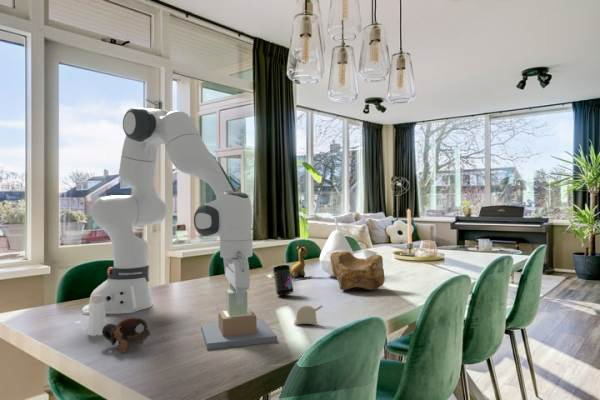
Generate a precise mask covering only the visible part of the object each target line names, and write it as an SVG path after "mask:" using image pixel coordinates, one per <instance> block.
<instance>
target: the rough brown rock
mask: <svg viewBox="0 0 600 400" xmlns="http://www.w3.org/2000/svg"><path fill="white" fill-rule="evenodd" d="M330 259H331V266H332V270H333V274H334V275H335V276H336V280H337V282H338V285H339V289H340V290H341V291H342V290H343V291H344V290H350V289H352V288H363V289H366V290H369V291H372V290H373V291H374V290H376V289H377V290H378V289H379V288H381V287H382V286H384V283H385V269H384V263H383V262H384V261H383V260H384V258H383V256H382V255H381V254H373V255H371V256H369V257H366V259H365V258H358V257H355V255H354V256H353V255H352V254H351V253H350V252H347V251H344V252H334V253H332V254H331V257H330Z"/></svg>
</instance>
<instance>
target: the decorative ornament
mask: <svg viewBox="0 0 600 400" xmlns="http://www.w3.org/2000/svg"><path fill="white" fill-rule="evenodd" d="M322 308H323V305H319V306H317V307H315V308H314V307H313V306H311V305H308V304H304V305H301V306H300V307H298V309H297V311H296V315H295V320H294V321H293V322H294V323H293V325H294V326H296V325H301V324H303V325H314V326H318V321H317V313H316V312H317V311H318V310H321V309H322Z"/></svg>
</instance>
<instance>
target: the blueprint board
mask: <svg viewBox="0 0 600 400" xmlns="http://www.w3.org/2000/svg"><path fill="white" fill-rule="evenodd" d="M247 313H248V314H243V315H232V316H229V315H228V313H227V311H226V310H223V309H222V310H218V321H217V322H210V323H208V322H207V323H201V324H200V330H201V333H202V337H203V341H204V343H205V347H206V350H214V349H215V350H216V349H225V348H233V347H242V346H250V345H252V346H253V345H261V344H270V343H277V342H278V335H277V334H276V333H275V332H274V331H273V330H272V328H271V327H270V326H269V325H268V324H267V322H266V321H265V320H264V318H262V317H261V318H257V315H256V313H255V312H254V311H253V310H252V308H250V307H247Z"/></svg>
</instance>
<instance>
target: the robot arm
mask: <svg viewBox="0 0 600 400" xmlns="http://www.w3.org/2000/svg"><path fill="white" fill-rule="evenodd" d="M122 129H123V132H124V134H125V138H124V141H123V145H122V150H121V157H120V162H119V169H118V177H119V179H120V180H121V182H122V183H123V184H125V186H126V185H127V186H128V187H130V188H131V193H130V195H128V194H127V195H126V194H125V195H113V194H112V195H106V196H101V197H98V198H97V199H95V200H94V202H93V203H92V206H91V210H90V211H91V212H90V213H91V218H92V220H93V222H94V223H95V225H97V226H98V227H100V228H101V229H102V230H104V232H105V233H106V234H107V235H108V237H109V239H110V241H111V244H112V252H113V266H109V267H108V268H107V270H106V271H107V279H106V280H105V281H103V282H102V283H101V284H99V285H98V286H97V287H96V288H95V289H93V291H92V292H91V294H90V297H89V302H88V304H86V305H84V306H83V307H82V309H81V313H82V314H83V315H86V316H89V311H90V305H91V304H92V297H91V296H92V295H95V294H102V295H103V296H102V303H104V307H105V315H113V314H114V315H115V314H120V315H121V314H133V313H135V312H138V311H142V310H146V309H148V308H149V309H150V308H151V307H152V306H153V305H154V303H153V300H152V295H151V291H150V283H149V282H150V278H151V277H150V273H151V272H150V271H151V270H150V265H149V263H148V261H149V259H148V258H149V256H148V255H149V253H148V251H149V250H148V249H149V247H148V244H147V242H146V241H145V240H144V239H143V238H141V237H138V235H137V236H136V235H135V232H134V229H133V227H147V226H149V227H150V226H153V225H156V224H160V223H162V222H163V220H165V217H166V215H167V205H166V203H165V201H164V200H163V199H162V198H161V197H160V196H159V195H158V193H157V191H156V188H155V183H154V176H155V167H156V162H157V155H158V154H157V153H158V147H159V146H160V145H161V144H162V145H164V146H165V150H166V152H167V154H168V156H169V160H170V162H171V163H172V165H173V166H174V167H175V168H176V169H177V170H178V171H180V172H182V173H184V174H187V175H189V176H193V177H195V178H197V179H200V180H202V181H203V182H205V183H206V184H208V186H210V187H211V189H212V192H213V193H214V194H215V196H216V199H214V200H213V201H210V202H207V203H205V204H201V205H199V206H198V207H197V208H196V210H195V212H194V215H193V225H194V228H195V231H196V232H197V233H198V234H199V235H200V236H202V237H207V238H213V237H214V238H215V237H216V238H217V237H219V253H220V254H219V257H220V258H222V259H223V269H224V275H225V278H226V279H227V281H228V283H229V289H236V303H237V305H242V304H243V303H244V293H245V290H246V291H247V290H249V289H250V265H249V264H250V263H249V258H251V257H253V236H252V226H253V209H252V203H251V201H252V200H251V198H250V196H249V194H247V193H245V192H241V191H237V190H236V189H235V187H234V185H233V184H232V182H231V180H230V178H229V176H228V174H227V173H226V171H225V169H224V168H223V166H222V165H221V164H220V162H219V161H218V160H217V159H216V158H215V157H214V156H213V155H212V153H211V152H210V150H209V149H208V148H207V146H206V144H205V143H204V140H203V138H202V136H201V133H200V132H199V130H198V128H197V126H196V124H195V122H194V121H193V119H192V118H191V117H190V115H189V114H188V113H186V112H185V111H182V110H174V111H170V110H167V109H163V108H144V107H131V108H129V109H128V110H127V111H126V112H125V114H124V116H123V119H122Z"/></svg>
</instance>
